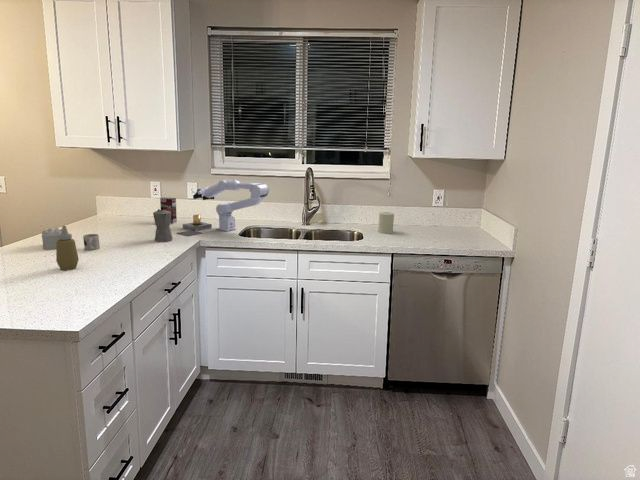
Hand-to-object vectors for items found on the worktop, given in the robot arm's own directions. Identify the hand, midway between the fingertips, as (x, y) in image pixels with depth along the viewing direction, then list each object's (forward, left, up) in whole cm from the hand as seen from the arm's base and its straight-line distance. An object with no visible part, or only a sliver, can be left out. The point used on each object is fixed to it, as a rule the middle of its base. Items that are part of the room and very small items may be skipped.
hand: (198, 197), depth 275 cm
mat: (-15, +18, -17) cm, 29 cm away
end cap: (-6, +6, -17) cm, 19 cm away
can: (-94, -67, -17) cm, 117 cm away
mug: (-12, +72, -17) cm, 75 cm away
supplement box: (+20, +8, -17) cm, 28 cm away
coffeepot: (-18, +37, -17) cm, 45 cm away
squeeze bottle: (-36, +93, -17) cm, 101 cm away
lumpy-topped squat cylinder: (+6, +81, -17) cm, 83 cm away
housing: (-6, +6, -17) cm, 19 cm away
